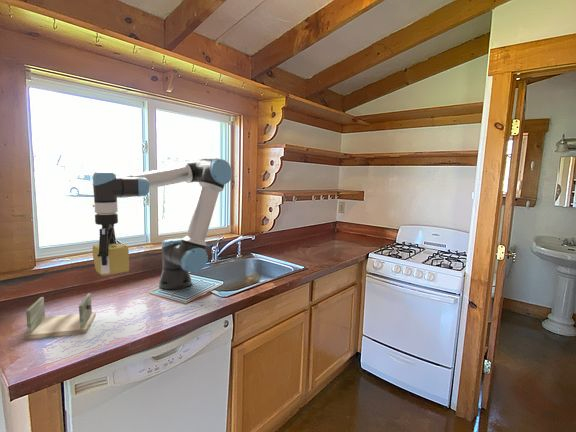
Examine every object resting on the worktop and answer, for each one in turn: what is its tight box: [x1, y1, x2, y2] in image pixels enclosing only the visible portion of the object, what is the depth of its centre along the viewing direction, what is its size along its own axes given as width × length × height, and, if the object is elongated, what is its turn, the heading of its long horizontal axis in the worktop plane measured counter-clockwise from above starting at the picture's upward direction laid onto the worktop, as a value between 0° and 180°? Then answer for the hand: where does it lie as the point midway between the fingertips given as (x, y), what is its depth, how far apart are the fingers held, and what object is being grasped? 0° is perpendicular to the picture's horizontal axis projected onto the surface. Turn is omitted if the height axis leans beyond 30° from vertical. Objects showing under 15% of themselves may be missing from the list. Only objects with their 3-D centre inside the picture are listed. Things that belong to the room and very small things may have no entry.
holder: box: [22, 292, 97, 341], centre depth 116 cm, size 18×14×10 cm
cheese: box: [92, 243, 130, 277], centre depth 126 cm, size 10×11×10 cm
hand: (109, 268), depth 126 cm, fingers closed on cheese, 13 cm apart
